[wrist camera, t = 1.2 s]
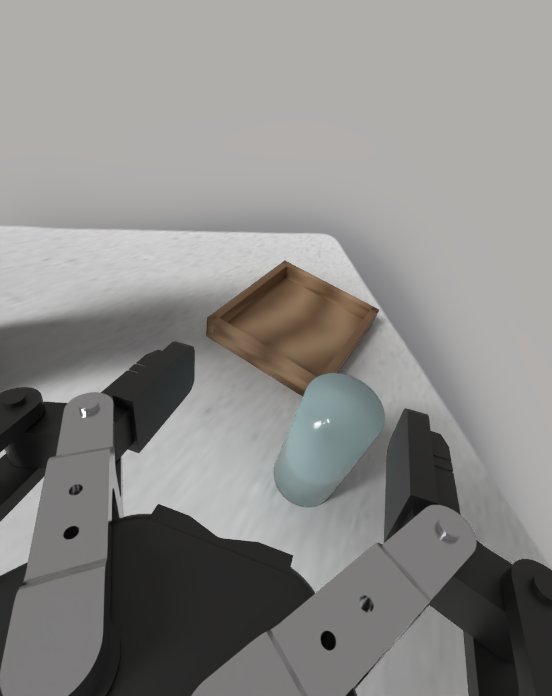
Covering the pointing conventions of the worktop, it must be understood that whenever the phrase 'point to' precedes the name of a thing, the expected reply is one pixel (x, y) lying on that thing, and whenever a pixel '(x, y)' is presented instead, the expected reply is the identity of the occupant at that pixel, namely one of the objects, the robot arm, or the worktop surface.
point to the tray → (292, 326)
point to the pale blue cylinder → (327, 438)
